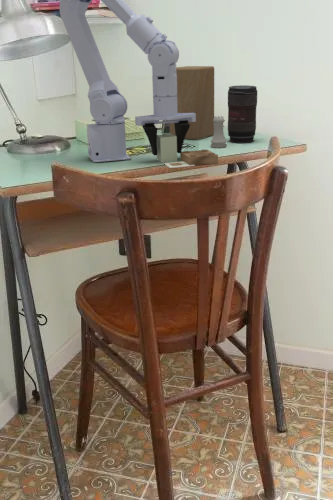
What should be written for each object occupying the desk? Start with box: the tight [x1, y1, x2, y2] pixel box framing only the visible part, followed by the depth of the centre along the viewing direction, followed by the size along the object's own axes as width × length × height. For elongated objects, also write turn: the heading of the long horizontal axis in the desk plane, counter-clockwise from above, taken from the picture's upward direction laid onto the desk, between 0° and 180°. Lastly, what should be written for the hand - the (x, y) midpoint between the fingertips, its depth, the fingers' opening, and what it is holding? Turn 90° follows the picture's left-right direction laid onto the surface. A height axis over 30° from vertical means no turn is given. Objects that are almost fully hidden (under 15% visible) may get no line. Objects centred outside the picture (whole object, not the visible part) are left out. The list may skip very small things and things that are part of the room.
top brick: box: [156, 132, 178, 163], centre depth 131 cm, size 4×4×6 cm
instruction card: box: [163, 161, 196, 169], centre depth 126 cm, size 6×5×1 cm
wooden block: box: [168, 65, 215, 141], centre depth 160 cm, size 10×10×20 cm
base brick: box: [179, 149, 219, 166], centre depth 129 cm, size 7×7×2 cm
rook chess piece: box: [210, 115, 228, 149], centre depth 145 cm, size 4×4×8 cm
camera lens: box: [227, 84, 258, 144], centre depth 151 cm, size 8×8×15 cm
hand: (166, 153), depth 131 cm, fingers open, 5 cm apart
